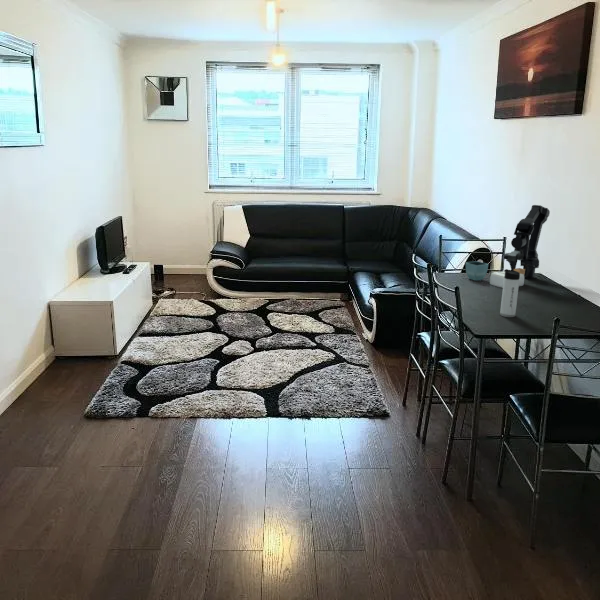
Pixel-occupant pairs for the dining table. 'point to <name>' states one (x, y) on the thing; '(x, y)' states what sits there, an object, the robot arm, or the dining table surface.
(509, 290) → the travel mug
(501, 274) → the lid
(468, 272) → the flower pot
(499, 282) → the white open box
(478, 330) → the dining table surface
